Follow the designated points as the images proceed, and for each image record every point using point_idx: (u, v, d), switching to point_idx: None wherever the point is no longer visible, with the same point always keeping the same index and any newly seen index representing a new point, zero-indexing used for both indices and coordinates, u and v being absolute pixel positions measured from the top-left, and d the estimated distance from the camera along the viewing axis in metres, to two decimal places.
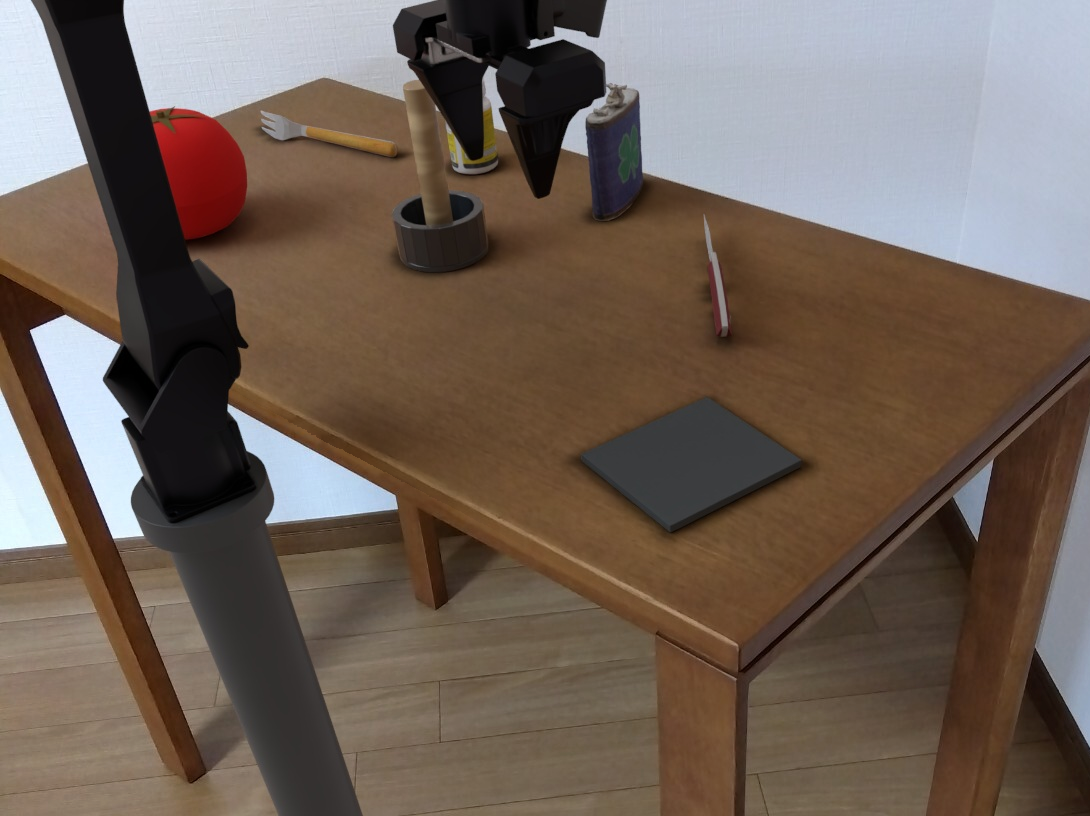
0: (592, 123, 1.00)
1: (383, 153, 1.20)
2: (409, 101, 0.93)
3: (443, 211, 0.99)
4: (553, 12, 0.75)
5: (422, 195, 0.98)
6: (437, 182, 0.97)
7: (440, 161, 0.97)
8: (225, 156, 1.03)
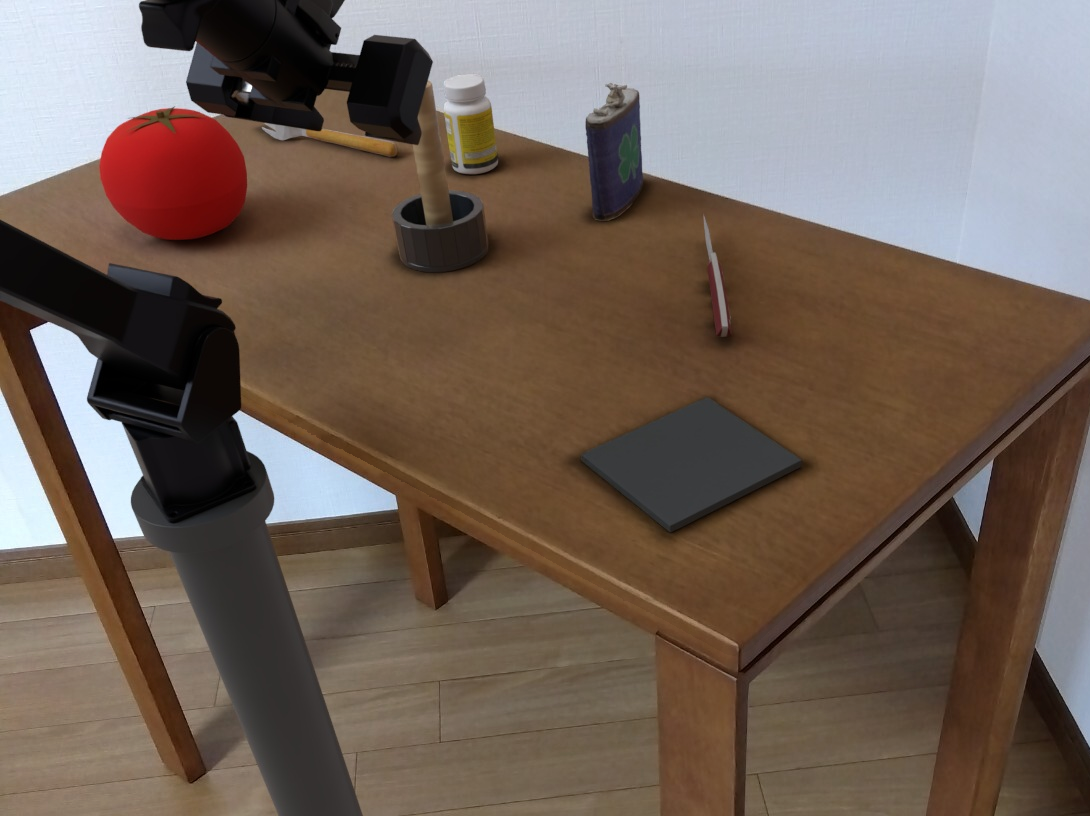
0: (592, 123, 1.00)
1: (383, 153, 1.20)
2: None
3: (443, 211, 0.99)
4: (329, 15, 0.77)
5: (422, 195, 0.98)
6: (437, 182, 0.97)
7: (440, 161, 0.97)
8: (225, 156, 1.03)
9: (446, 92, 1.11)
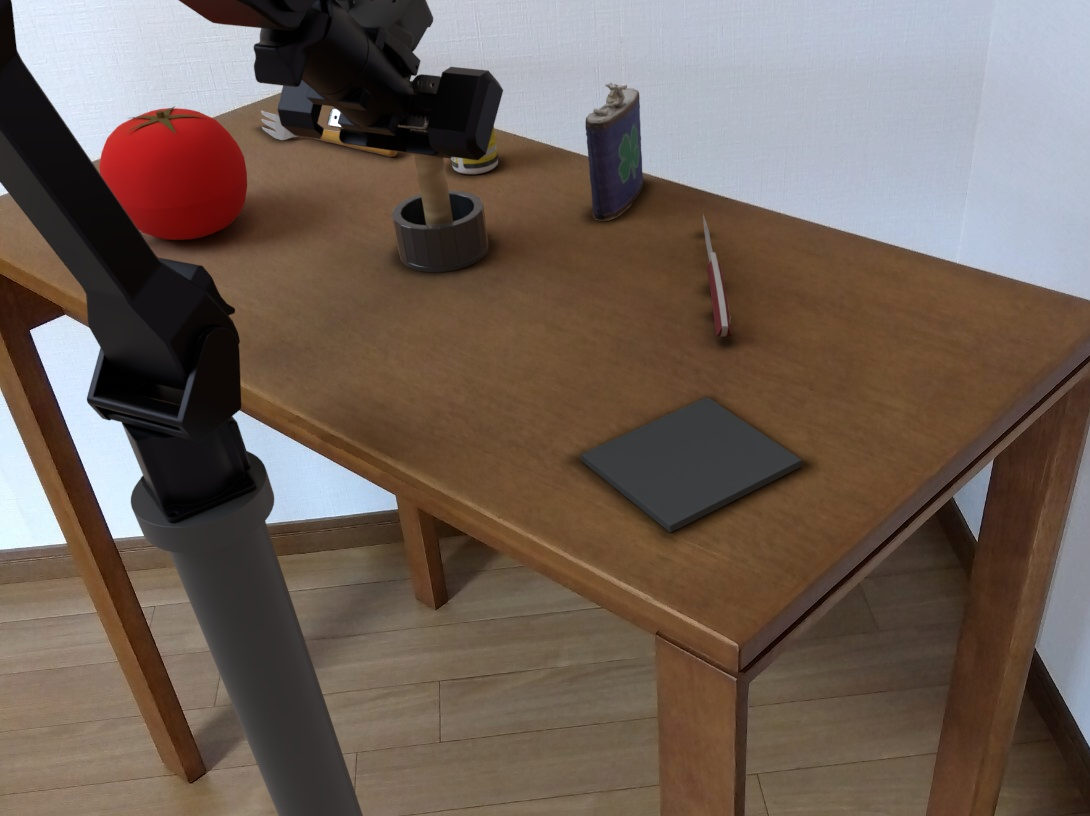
0: (592, 123, 1.00)
1: (383, 153, 1.20)
2: None
3: (443, 211, 0.99)
4: (410, 49, 0.87)
5: (422, 194, 0.99)
6: (437, 182, 0.97)
7: (440, 161, 0.97)
8: (225, 156, 1.03)
9: None
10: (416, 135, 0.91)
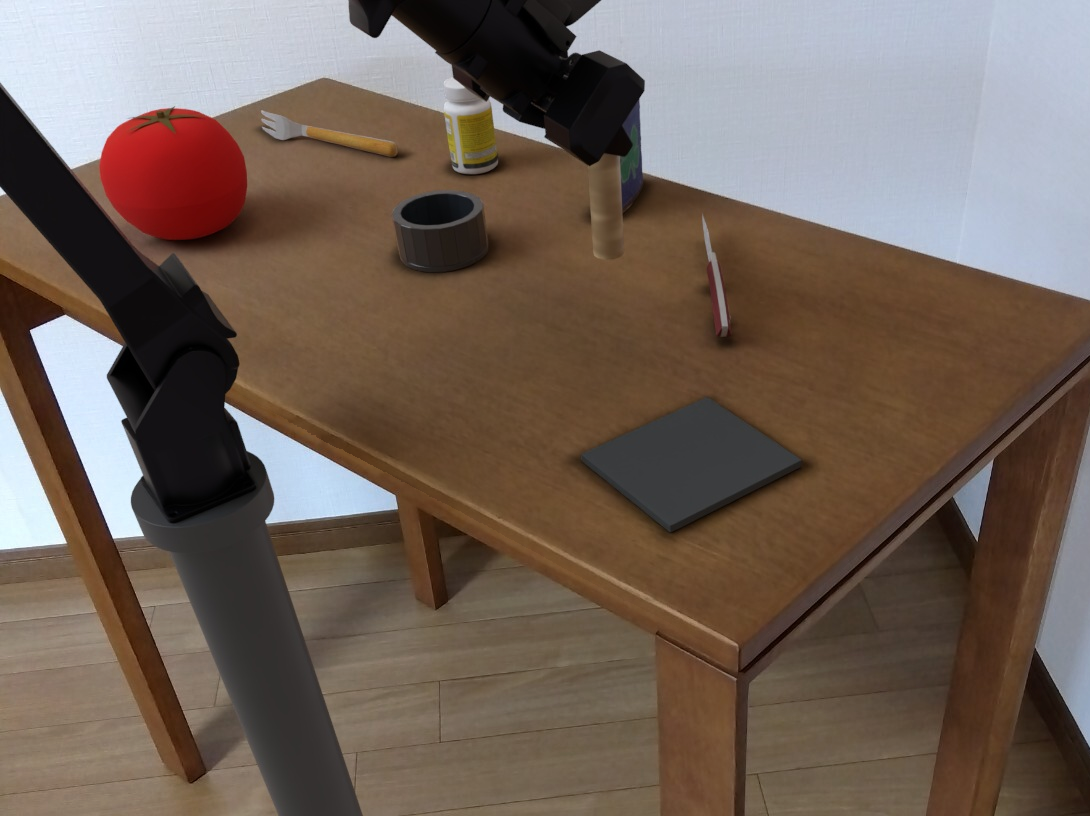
0: None
1: (383, 153, 1.20)
2: None
3: (606, 214, 0.85)
4: (562, 21, 0.73)
5: (589, 190, 0.85)
6: (602, 180, 0.83)
7: (610, 157, 0.82)
8: (225, 156, 1.03)
9: (446, 92, 1.11)
10: None
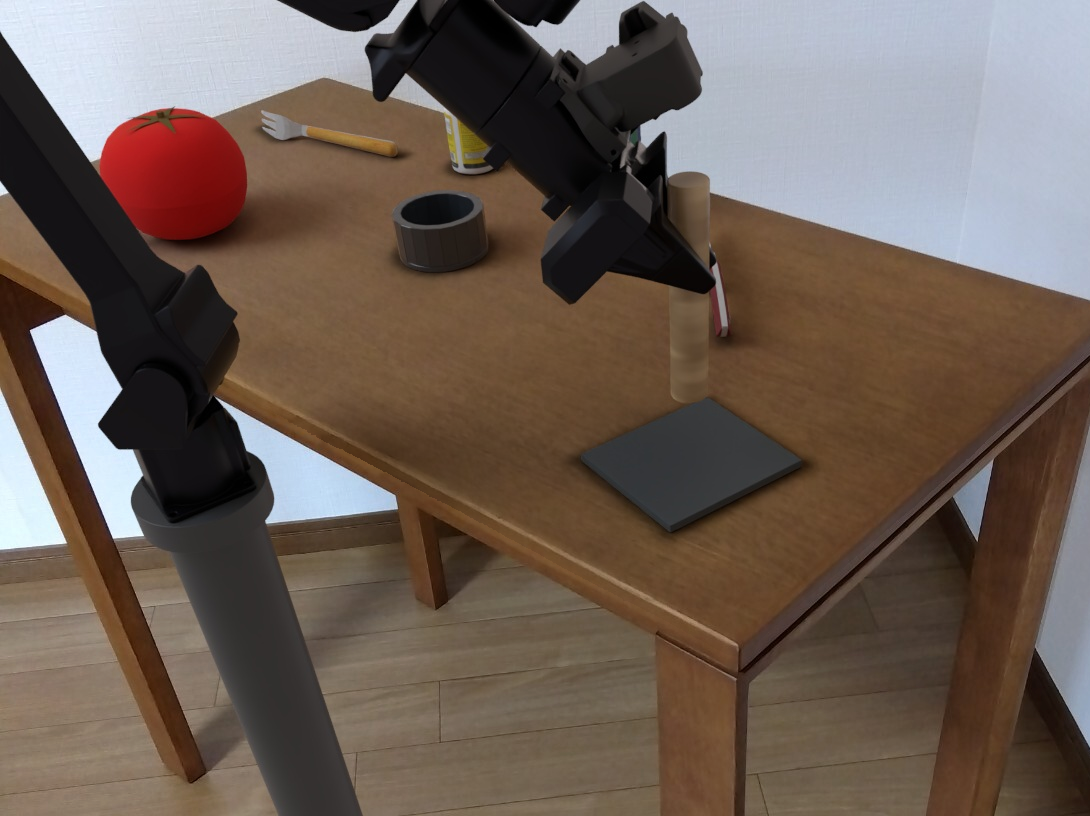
0: None
1: (383, 153, 1.20)
2: (667, 195, 0.65)
3: (678, 352, 0.70)
4: (607, 126, 0.59)
5: None
6: (676, 313, 0.68)
7: (687, 290, 0.67)
8: (225, 156, 1.03)
9: None
10: None
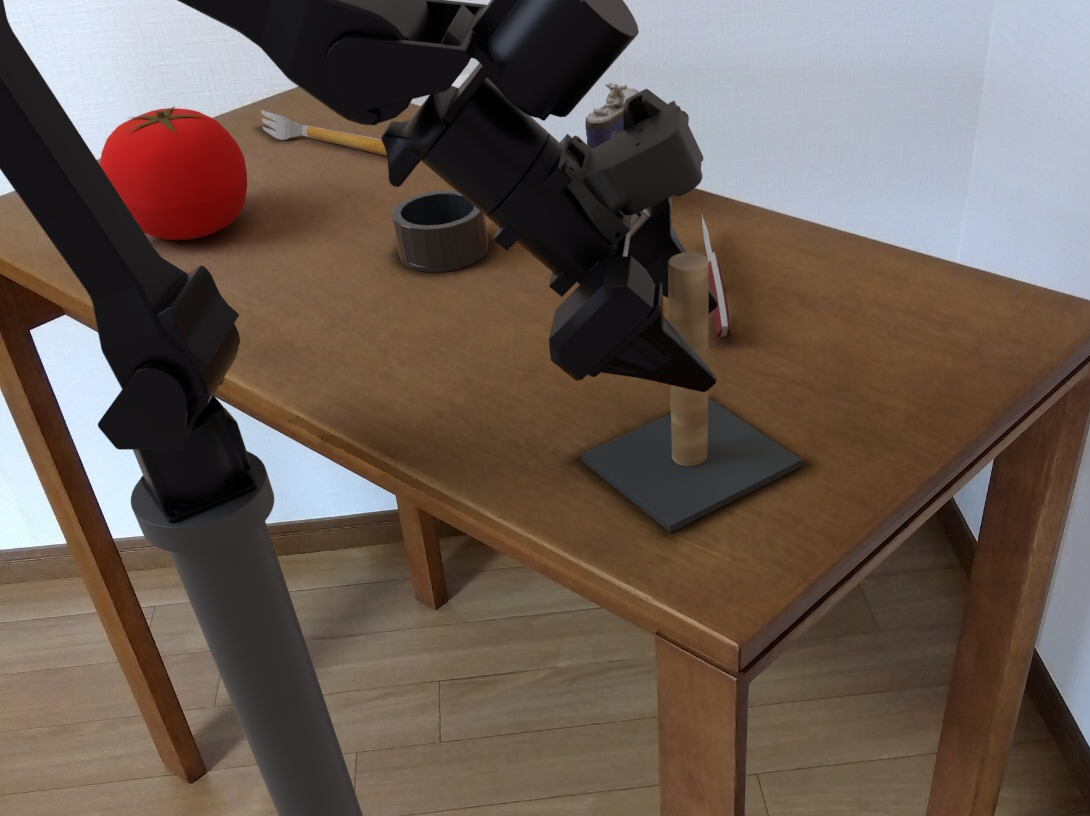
0: (592, 123, 1.00)
1: (383, 153, 1.20)
2: (668, 275, 0.68)
3: (679, 419, 0.73)
4: (612, 211, 0.62)
5: None
6: None
7: None
8: (225, 156, 1.03)
9: None
10: None
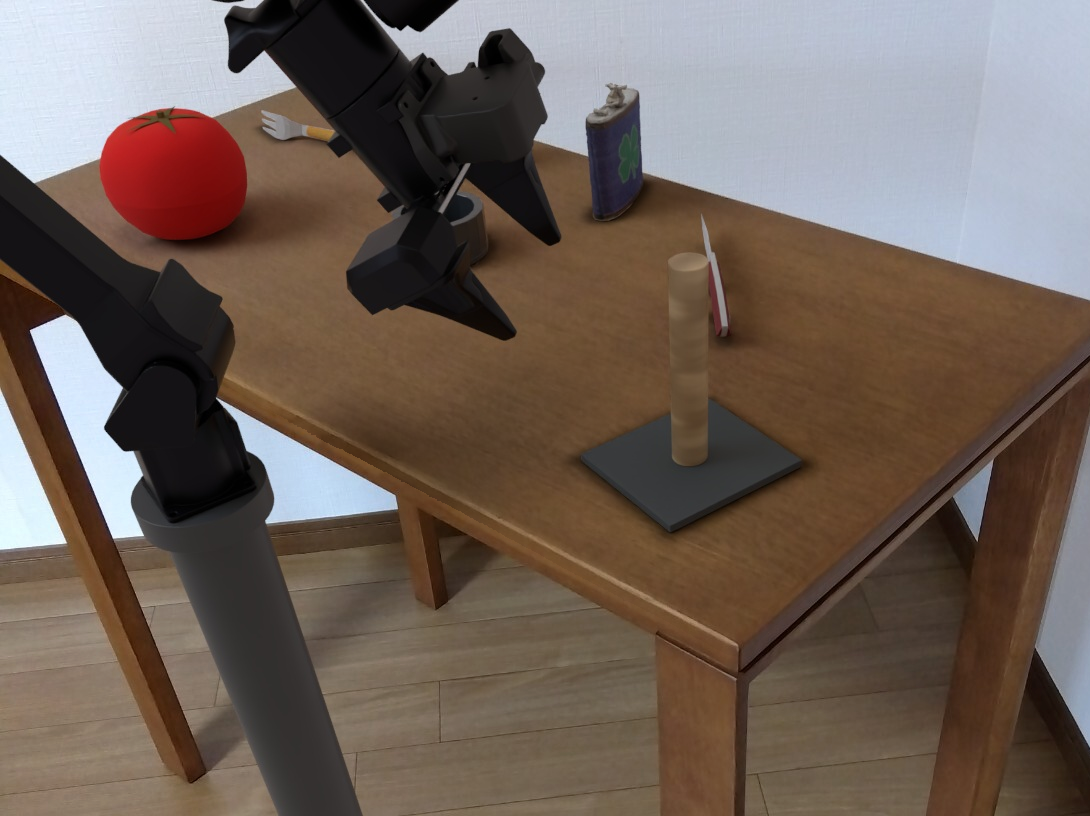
0: (592, 123, 1.00)
1: None
2: (668, 275, 0.68)
3: (679, 419, 0.73)
4: (438, 157, 0.63)
5: None
6: (676, 383, 0.72)
7: (687, 363, 0.70)
8: (225, 156, 1.03)
9: None
10: None
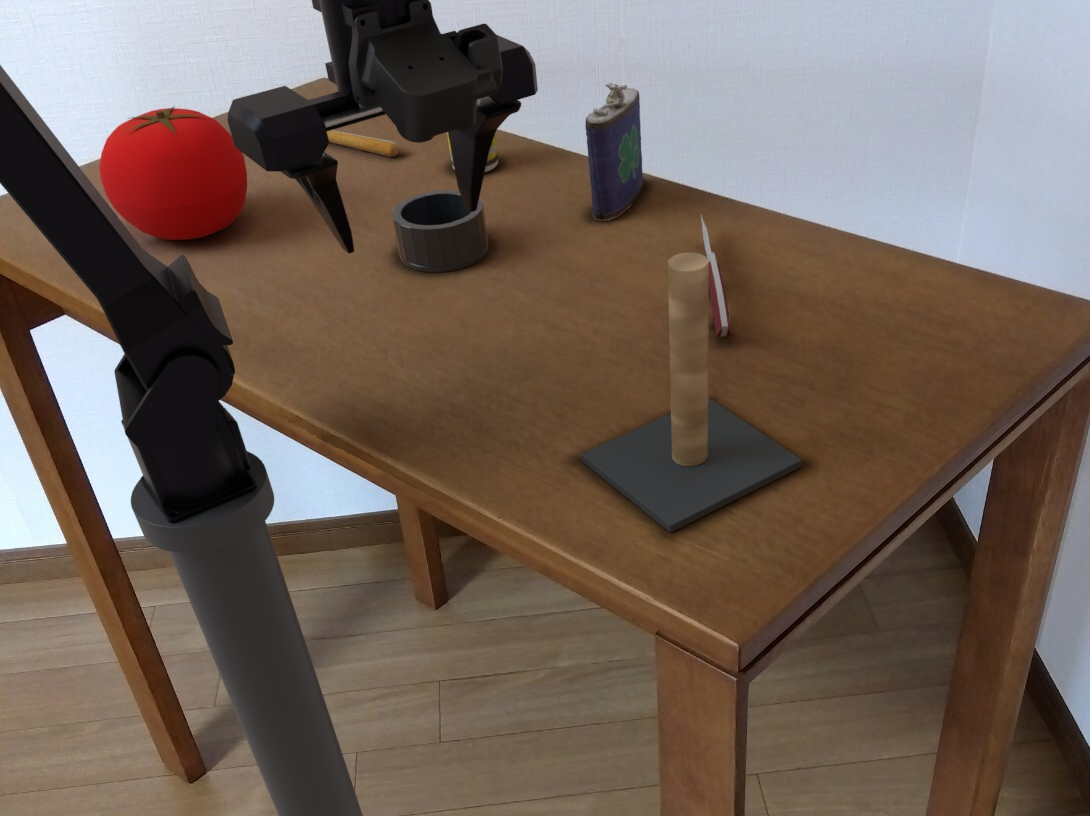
0: (592, 123, 1.00)
1: (383, 153, 1.20)
2: (668, 275, 0.68)
3: (679, 419, 0.73)
4: (361, 81, 0.66)
5: None
6: (676, 383, 0.72)
7: (687, 363, 0.70)
8: (225, 156, 1.03)
9: None
10: None
